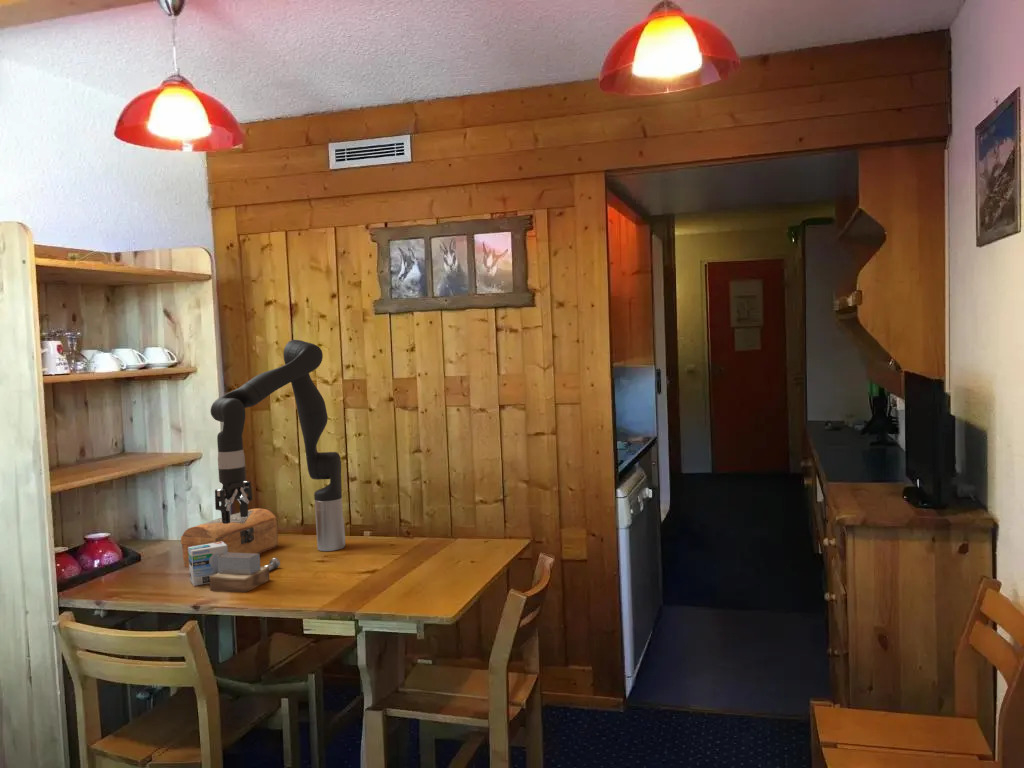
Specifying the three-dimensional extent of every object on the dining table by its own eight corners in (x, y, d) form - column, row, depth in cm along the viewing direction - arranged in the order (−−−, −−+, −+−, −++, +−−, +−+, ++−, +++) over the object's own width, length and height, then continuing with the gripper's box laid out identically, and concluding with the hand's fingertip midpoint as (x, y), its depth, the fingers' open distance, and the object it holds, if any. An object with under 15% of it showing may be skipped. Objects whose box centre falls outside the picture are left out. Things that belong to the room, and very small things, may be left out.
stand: (235, 578, 249) (234, 565, 249) (269, 579, 246) (268, 566, 246) (210, 590, 238) (209, 577, 238) (245, 592, 234) (244, 578, 234)
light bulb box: (193, 586, 243) (191, 551, 242) (189, 581, 248) (186, 546, 248) (230, 579, 248) (228, 544, 248) (225, 574, 254) (223, 540, 254)
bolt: (271, 567, 260) (271, 557, 260) (280, 567, 259) (279, 557, 259) (260, 572, 254) (259, 562, 254) (269, 573, 253) (268, 563, 253)
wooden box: (220, 571, 260) (217, 528, 259) (181, 567, 266) (178, 525, 265) (282, 547, 287) (280, 508, 286) (245, 544, 294) (243, 506, 293)
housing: (260, 570, 242) (259, 553, 242) (250, 575, 238) (249, 558, 237) (229, 568, 246) (228, 552, 245) (218, 573, 241) (217, 556, 241)
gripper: (227, 470, 232) (231, 526, 233) (257, 461, 245) (260, 514, 246) (205, 469, 234) (209, 525, 235) (235, 461, 248) (239, 514, 249)
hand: (235, 520), depth 241 cm, fingers open, 8 cm apart
